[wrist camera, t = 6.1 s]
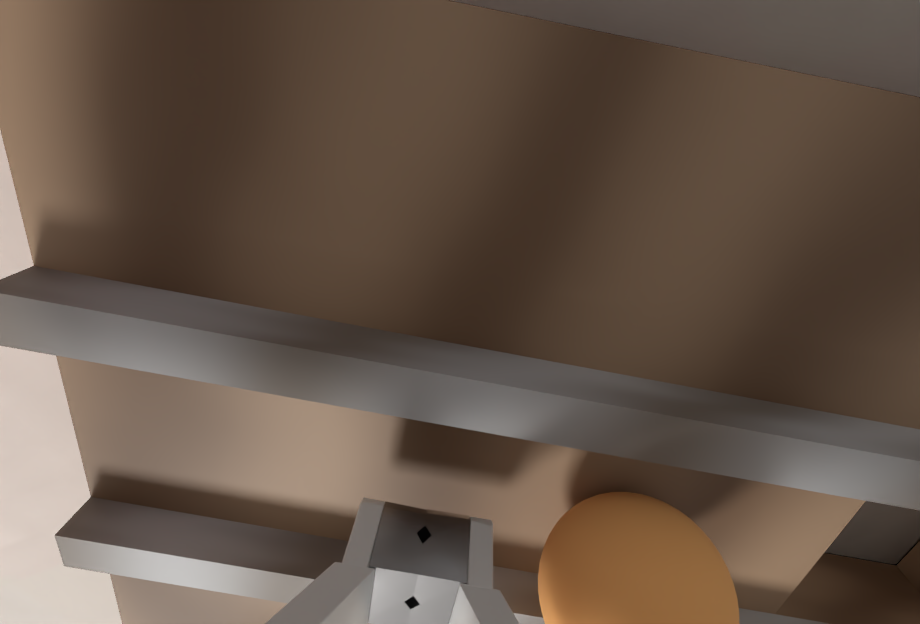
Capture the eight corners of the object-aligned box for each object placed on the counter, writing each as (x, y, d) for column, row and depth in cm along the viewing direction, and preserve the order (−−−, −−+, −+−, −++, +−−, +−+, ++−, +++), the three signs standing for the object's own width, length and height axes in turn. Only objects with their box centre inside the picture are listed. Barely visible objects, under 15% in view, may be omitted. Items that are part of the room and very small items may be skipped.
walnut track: (1393, 209, 10) (1832, 274, 7) (866, 692, 19) (946, 822, 16) (74, -62, 9) (-155, -136, 6) (172, 575, 18) (101, 686, 15)
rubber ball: (692, 696, 7) (534, 478, 10) (592, 793, 9) (485, 588, 12) (824, 595, 9) (661, 439, 12) (719, 692, 11) (601, 538, 14)
